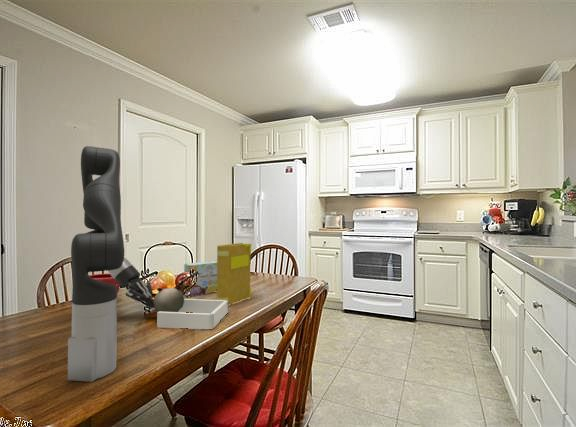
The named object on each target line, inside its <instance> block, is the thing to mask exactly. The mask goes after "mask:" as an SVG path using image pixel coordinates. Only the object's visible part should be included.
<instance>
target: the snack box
mask: <svg viewBox="0 0 576 427" xmlns="http://www.w3.org/2000/svg"><path fill="white" fill-rule="evenodd" d="M183 266H184V267H183V270H184V271H183V274H184V273H185V272H190V270H191V269H193V270H194V271H195V272H196V271H198V273H199V274H198V277H197V282H196V284H195V285H194V286H193V288H192V289H191V291H190V294H189V296H192V297H196V295H198V296H202V295H201V294H204V295H206V294H205V293H210V292H214V291H217V260H212V261H199V262H190V263H184V265H183ZM210 294H211V293H210Z"/></svg>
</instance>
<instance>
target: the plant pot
mask: <svg viewBox="0 0 576 427" xmlns="http://www.w3.org/2000/svg"><path fill="white" fill-rule="evenodd" d="M88 275H89V276H90V277H91V278H93V279H95V280H97V281H100V282H104V283H109V284H112V285H115V286H116V287H117V295H118V293H119V290H120V287H121V286H120V285H119V284H118V283H117V282H116V280H115V279H114V278H113V277H112V276H111V275H110V273H96V274H88ZM117 300H119V299H118V297H117Z"/></svg>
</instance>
